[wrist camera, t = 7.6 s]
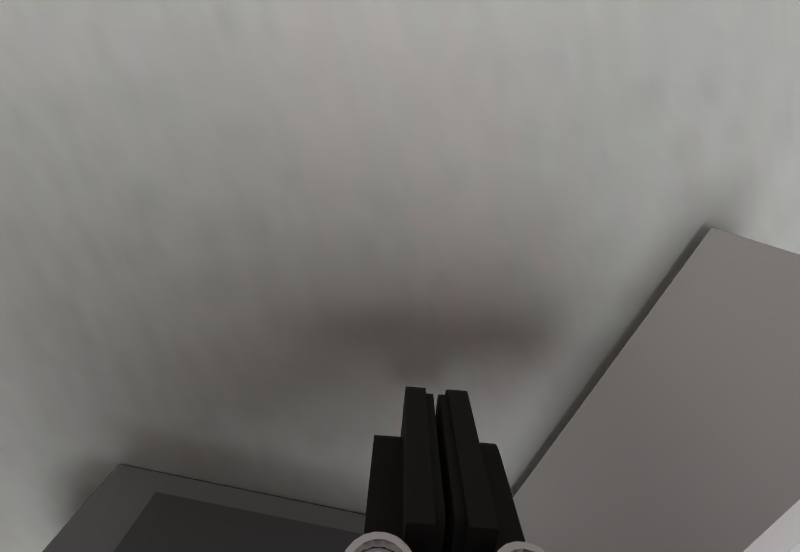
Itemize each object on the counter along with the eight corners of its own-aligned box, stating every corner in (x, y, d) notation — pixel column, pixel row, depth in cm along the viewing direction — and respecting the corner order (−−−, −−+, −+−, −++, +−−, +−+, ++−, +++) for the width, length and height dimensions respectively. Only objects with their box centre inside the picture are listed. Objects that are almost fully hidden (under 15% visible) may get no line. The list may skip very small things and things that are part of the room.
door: (704, 224, 12) (1010, 320, 6) (742, 242, 12) (1079, 354, 6) (478, 535, 16) (517, 768, 10) (507, 546, 17) (563, 781, 11)
